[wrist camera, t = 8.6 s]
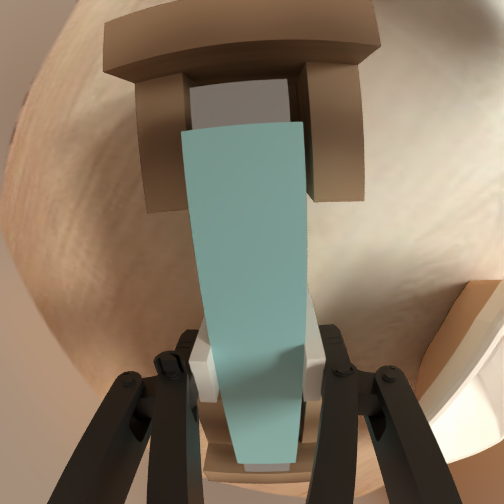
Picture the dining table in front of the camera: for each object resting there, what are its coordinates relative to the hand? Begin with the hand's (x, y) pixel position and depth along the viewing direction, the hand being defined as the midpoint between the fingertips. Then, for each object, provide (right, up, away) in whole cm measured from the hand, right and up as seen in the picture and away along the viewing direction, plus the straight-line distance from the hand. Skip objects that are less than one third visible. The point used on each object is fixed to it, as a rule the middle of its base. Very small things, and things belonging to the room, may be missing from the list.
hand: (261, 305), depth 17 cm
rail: (0, 0, +1) cm, 1 cm away
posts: (0, +2, +6) cm, 6 cm away
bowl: (+25, -6, +8) cm, 27 cm away
